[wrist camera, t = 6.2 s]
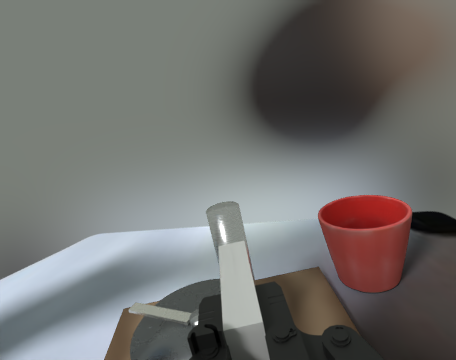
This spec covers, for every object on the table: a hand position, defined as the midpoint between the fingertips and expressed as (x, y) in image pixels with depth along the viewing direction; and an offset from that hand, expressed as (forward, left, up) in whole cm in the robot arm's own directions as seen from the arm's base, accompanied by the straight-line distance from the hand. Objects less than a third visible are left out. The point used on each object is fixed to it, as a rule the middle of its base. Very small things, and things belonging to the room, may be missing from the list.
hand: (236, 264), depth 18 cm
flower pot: (+16, +21, -19) cm, 32 cm away
